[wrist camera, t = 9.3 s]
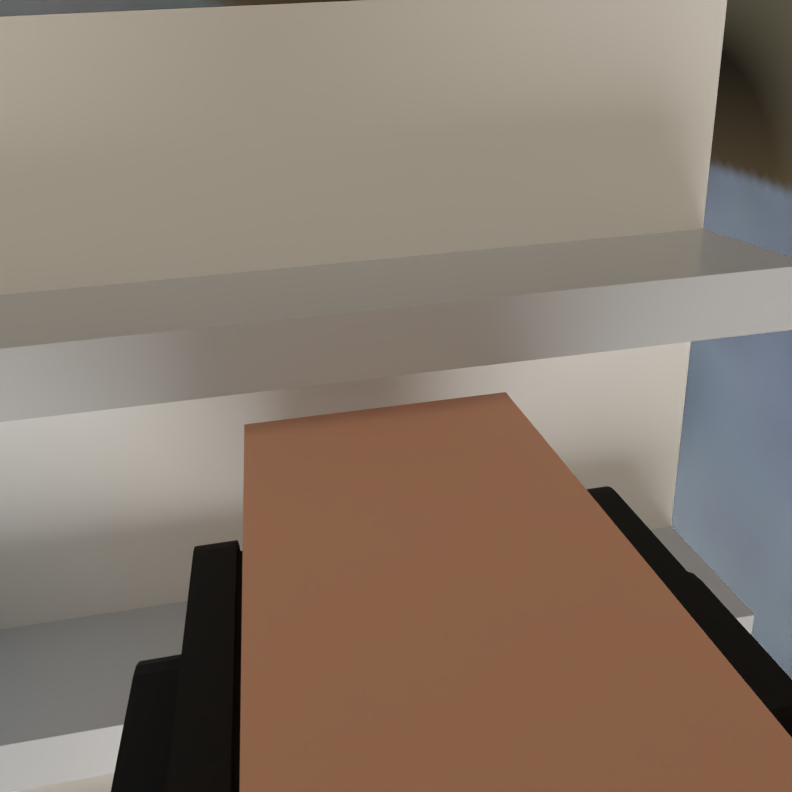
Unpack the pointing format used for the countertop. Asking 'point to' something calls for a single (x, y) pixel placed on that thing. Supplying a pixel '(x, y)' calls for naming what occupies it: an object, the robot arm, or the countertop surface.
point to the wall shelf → (326, 284)
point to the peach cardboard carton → (468, 622)
